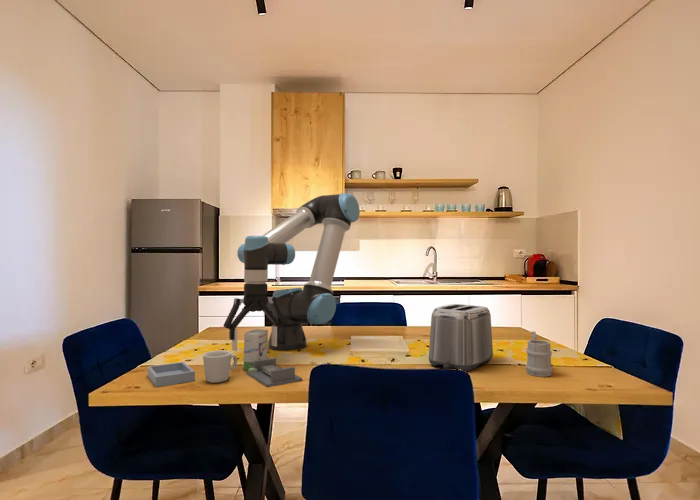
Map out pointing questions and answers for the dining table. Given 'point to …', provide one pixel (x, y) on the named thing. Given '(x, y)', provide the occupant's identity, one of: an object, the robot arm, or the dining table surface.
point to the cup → (218, 365)
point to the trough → (170, 374)
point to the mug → (539, 357)
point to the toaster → (460, 336)
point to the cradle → (272, 373)
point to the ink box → (255, 347)
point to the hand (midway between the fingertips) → (254, 347)
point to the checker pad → (269, 368)
